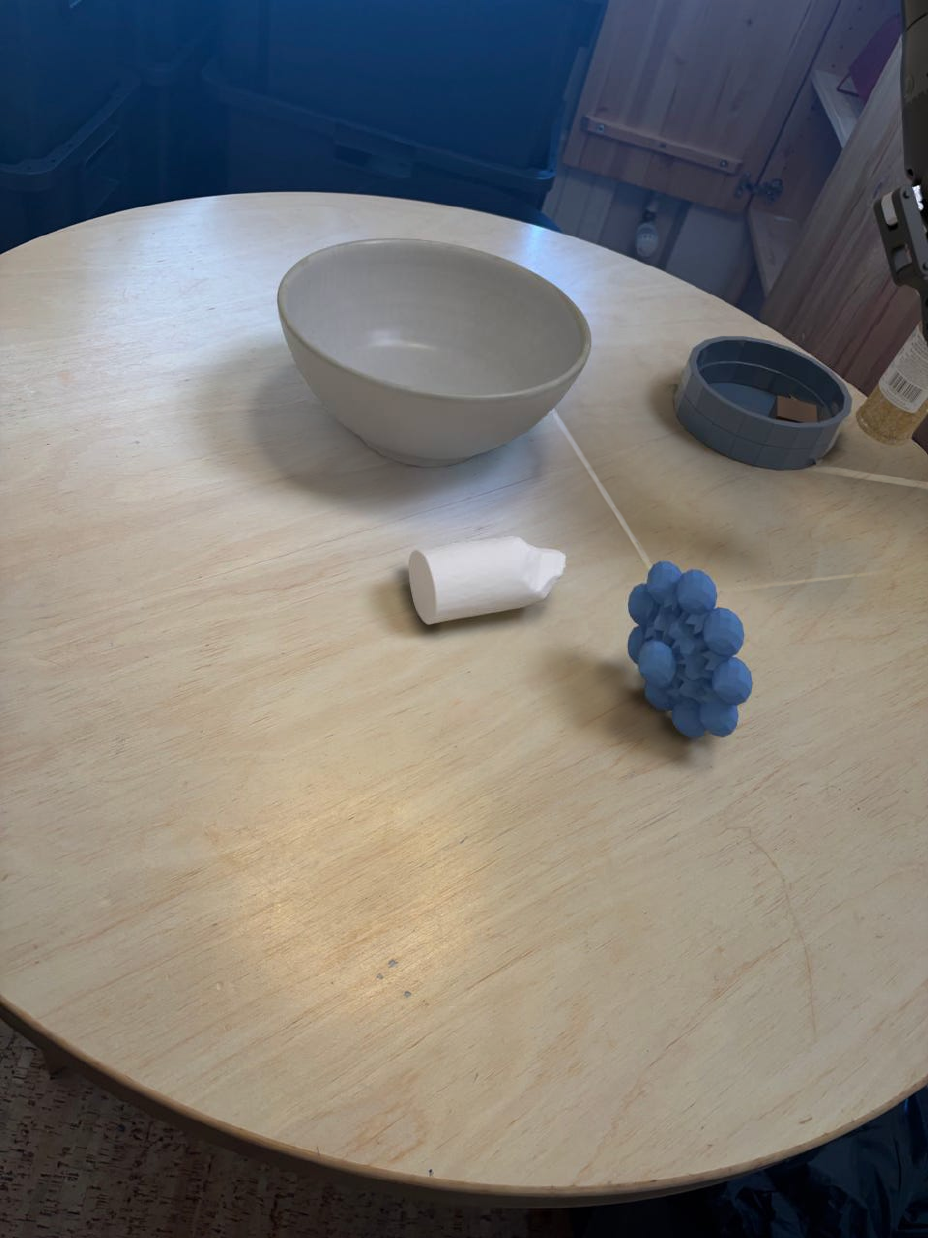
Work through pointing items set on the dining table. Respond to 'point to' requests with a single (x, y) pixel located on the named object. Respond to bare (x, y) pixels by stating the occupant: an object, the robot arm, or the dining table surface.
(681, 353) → the dining table surface
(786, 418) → the block
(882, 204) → the robot arm
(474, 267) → the decorative bowl
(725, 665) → the blue knobbly ring
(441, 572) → the white bottle
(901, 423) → the sprinkles bottle
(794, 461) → the bowl
